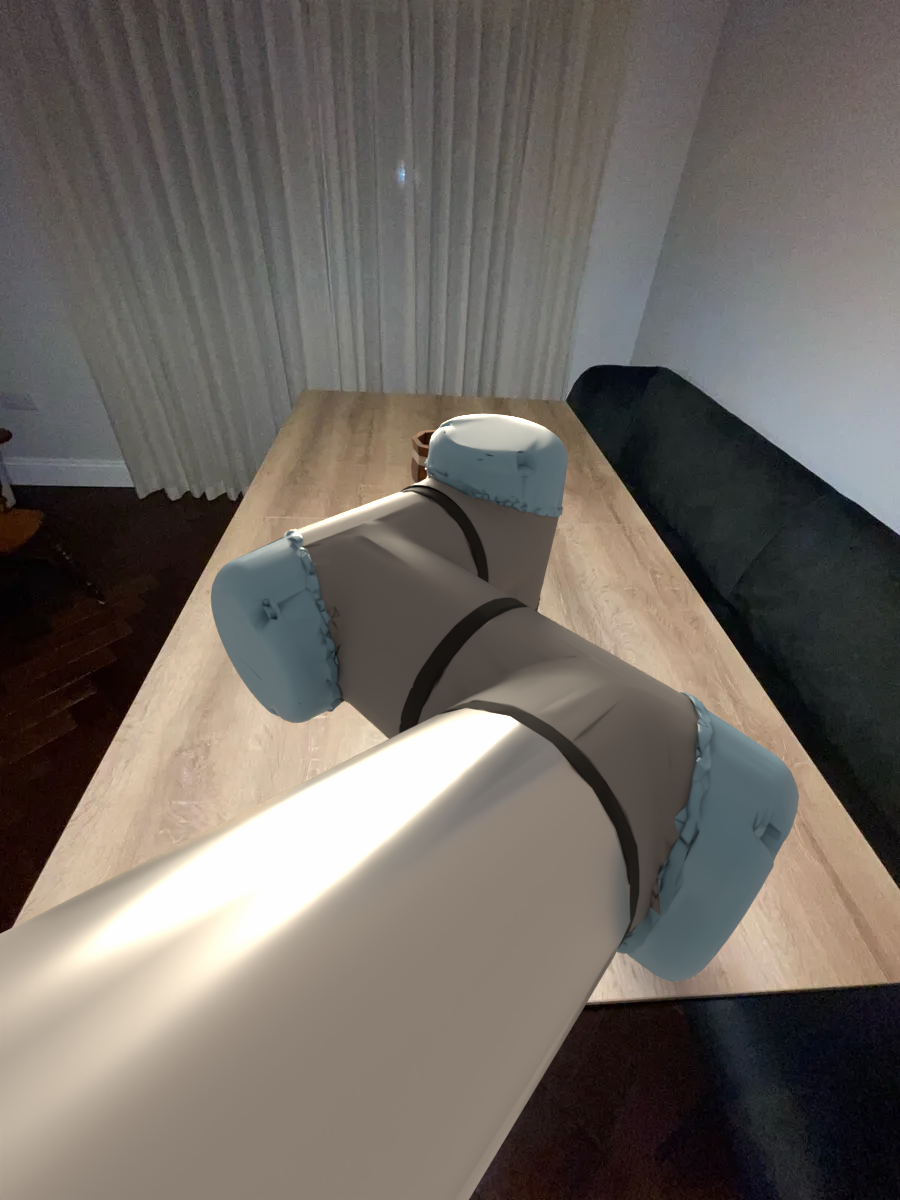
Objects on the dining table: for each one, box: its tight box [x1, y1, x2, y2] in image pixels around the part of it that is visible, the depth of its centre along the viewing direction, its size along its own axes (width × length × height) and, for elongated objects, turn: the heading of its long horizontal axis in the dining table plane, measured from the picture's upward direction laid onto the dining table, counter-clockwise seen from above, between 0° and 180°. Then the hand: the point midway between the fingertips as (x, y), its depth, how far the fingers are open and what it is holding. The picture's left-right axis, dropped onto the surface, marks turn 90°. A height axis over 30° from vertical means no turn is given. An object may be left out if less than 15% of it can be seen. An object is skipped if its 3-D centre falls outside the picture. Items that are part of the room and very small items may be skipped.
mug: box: [410, 429, 438, 485], centre depth 128 cm, size 20×14×15 cm
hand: (452, 819), depth 51 cm, fingers closed on lid, 9 cm apart
